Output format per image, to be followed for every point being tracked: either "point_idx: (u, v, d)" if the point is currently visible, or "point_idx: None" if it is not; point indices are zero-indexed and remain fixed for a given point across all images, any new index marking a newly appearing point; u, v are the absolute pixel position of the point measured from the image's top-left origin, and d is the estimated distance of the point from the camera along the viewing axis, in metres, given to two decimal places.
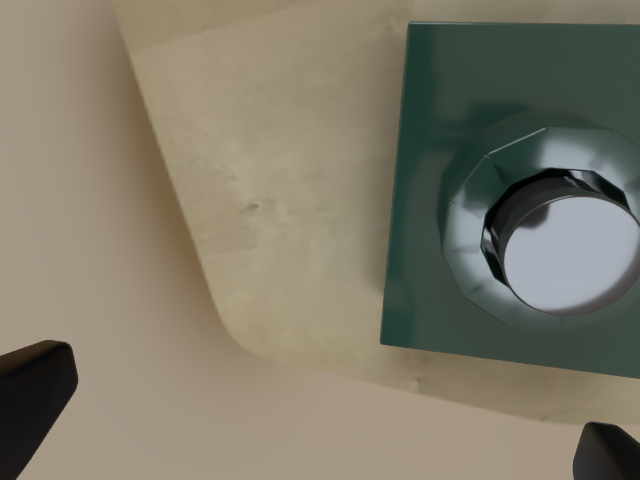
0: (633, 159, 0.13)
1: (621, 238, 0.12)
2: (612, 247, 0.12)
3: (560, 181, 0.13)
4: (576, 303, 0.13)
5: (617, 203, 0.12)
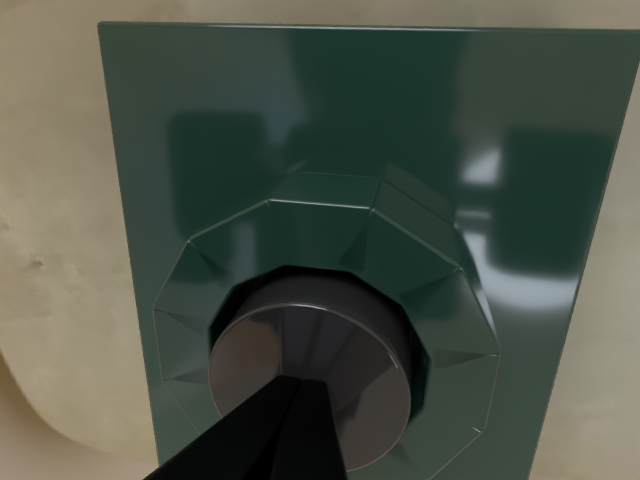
0: (408, 256, 0.07)
1: (367, 371, 0.07)
2: (357, 383, 0.08)
3: (307, 267, 0.09)
4: None
5: (353, 319, 0.07)
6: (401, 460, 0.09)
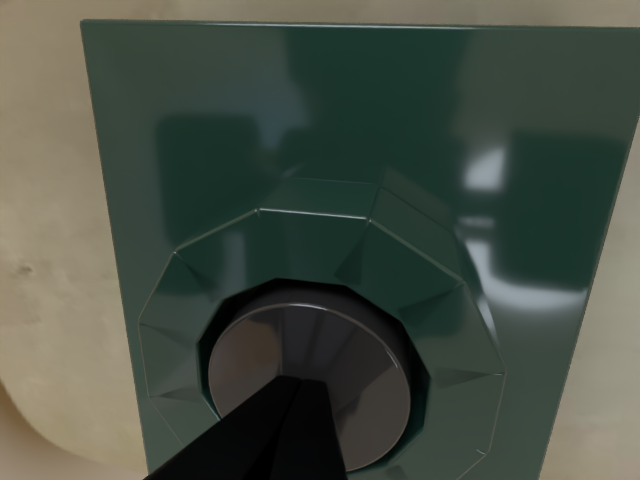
0: (408, 269, 0.07)
1: (367, 371, 0.07)
2: (357, 383, 0.08)
3: None
4: None
5: (353, 318, 0.07)
6: None
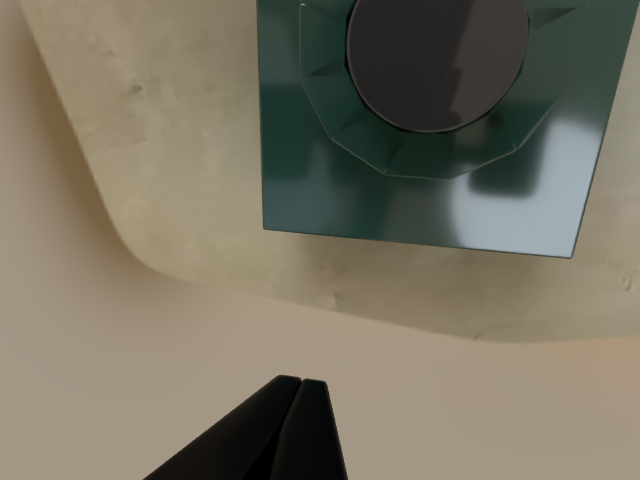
0: None
1: (493, 5, 0.09)
2: (482, 20, 0.09)
3: None
4: (445, 111, 0.10)
5: None
6: (495, 135, 0.11)
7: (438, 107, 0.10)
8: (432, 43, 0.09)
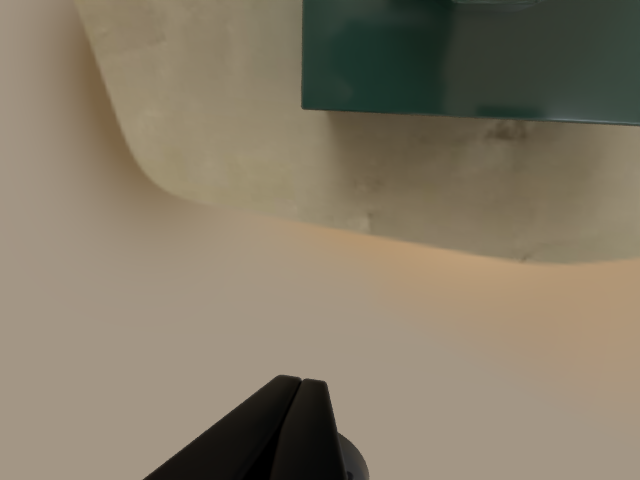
0: None
1: None
2: None
3: None
4: None
5: None
6: None
7: None
8: None
